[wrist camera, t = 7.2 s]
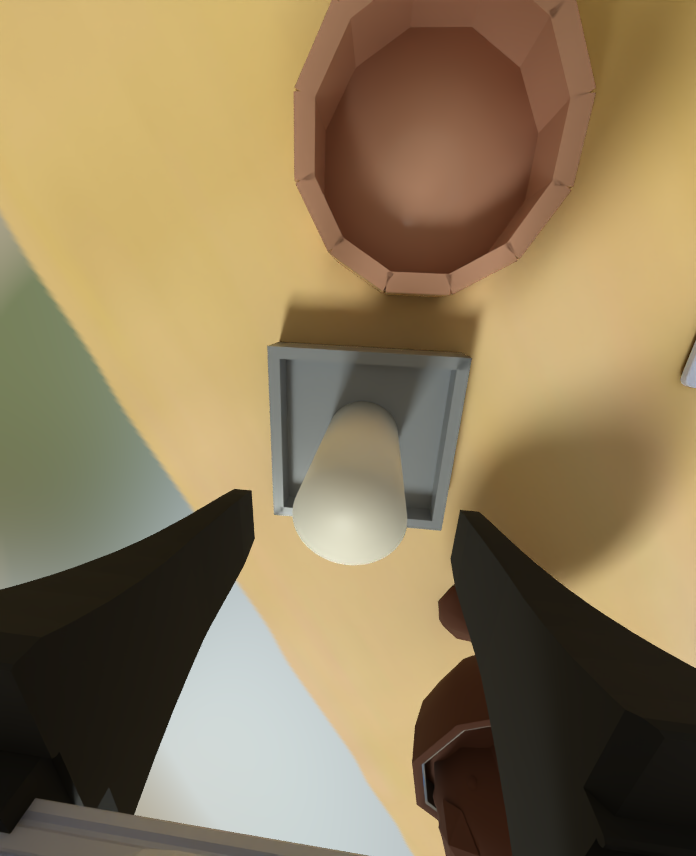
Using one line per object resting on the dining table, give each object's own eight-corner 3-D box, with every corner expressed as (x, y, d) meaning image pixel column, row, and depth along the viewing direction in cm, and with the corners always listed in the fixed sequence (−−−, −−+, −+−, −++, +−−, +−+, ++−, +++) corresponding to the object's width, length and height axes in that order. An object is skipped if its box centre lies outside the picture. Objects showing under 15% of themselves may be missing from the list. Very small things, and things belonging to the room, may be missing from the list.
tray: (461, 352, 18) (471, 358, 16) (435, 510, 21) (441, 530, 19) (278, 341, 18) (267, 346, 16) (283, 496, 22) (274, 514, 20)
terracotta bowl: (580, 7, 13) (636, -77, 10) (517, 300, 16) (546, 299, 14) (310, 11, 13) (292, -67, 11) (309, 290, 17) (295, 287, 14)
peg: (402, 405, 18) (414, 475, 11) (393, 469, 19) (399, 571, 12) (330, 398, 18) (292, 461, 11) (326, 462, 20) (291, 557, 12)
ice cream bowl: (492, 520, 21) (720, 951, 7) (588, 622, 23) (908, 1109, 9) (369, 597, 24) (355, 1000, 10) (463, 681, 26) (558, 1108, 12)
